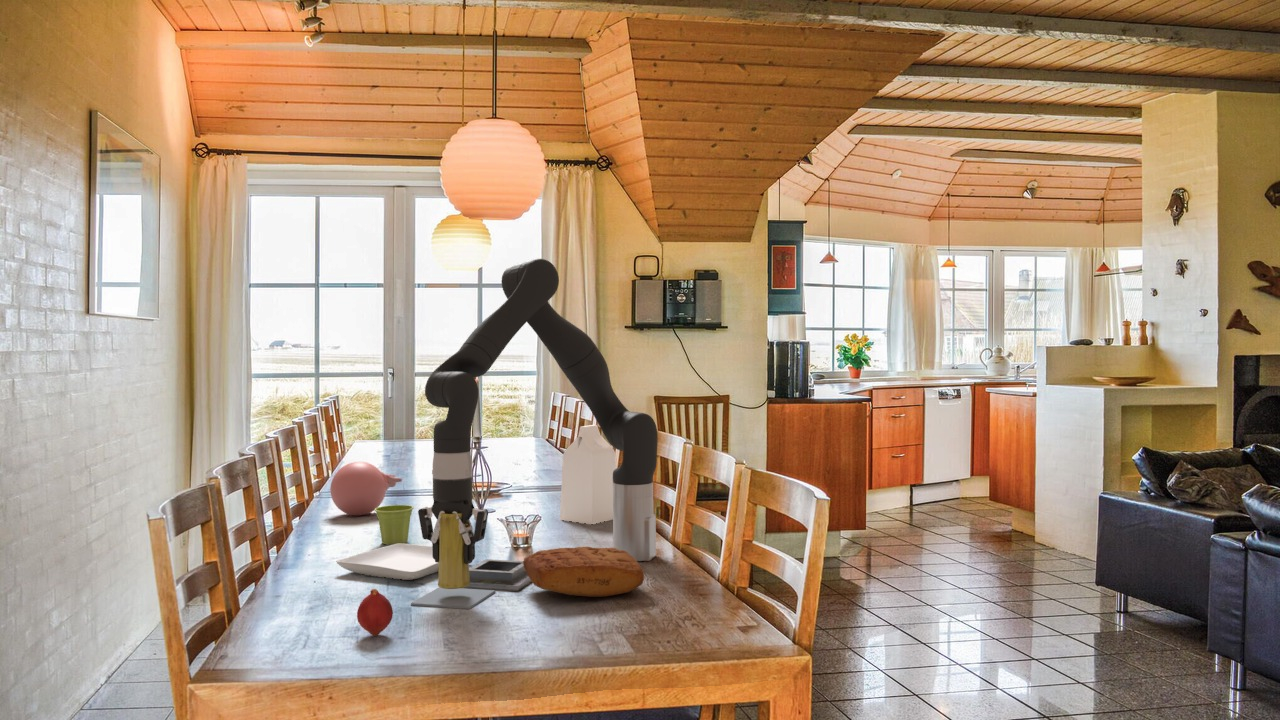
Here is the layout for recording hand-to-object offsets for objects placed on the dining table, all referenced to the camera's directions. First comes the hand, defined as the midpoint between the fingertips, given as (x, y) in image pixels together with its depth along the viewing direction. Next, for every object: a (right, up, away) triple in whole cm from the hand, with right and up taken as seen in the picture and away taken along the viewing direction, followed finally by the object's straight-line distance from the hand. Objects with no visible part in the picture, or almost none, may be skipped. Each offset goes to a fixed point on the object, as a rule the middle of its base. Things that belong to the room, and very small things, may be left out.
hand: (453, 561), depth 182 cm
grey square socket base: (+7, -7, +14) cm, 17 cm away
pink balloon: (-43, -6, +91) cm, 100 cm away
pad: (0, -7, 0) cm, 7 cm away
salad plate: (-15, -7, +25) cm, 30 cm away
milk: (+22, -6, +81) cm, 84 cm away
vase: (0, -5, 0) cm, 5 cm away
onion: (-9, -8, -22) cm, 25 cm away
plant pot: (-25, -6, +52) cm, 58 cm away
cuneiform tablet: (+25, -7, +4) cm, 26 cm away
